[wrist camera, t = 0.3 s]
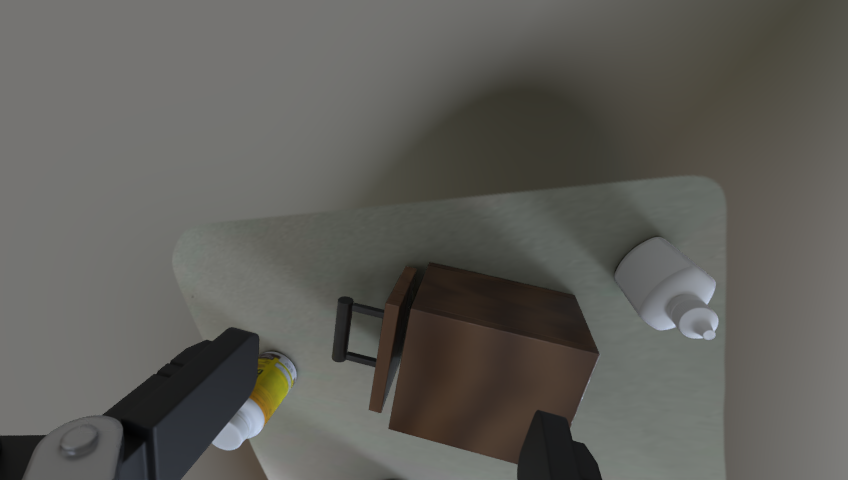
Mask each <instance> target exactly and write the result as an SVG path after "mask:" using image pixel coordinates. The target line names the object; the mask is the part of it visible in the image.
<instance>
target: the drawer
mask: <svg viewBox="0 0 848 480" xmlns="http://www.w3.org/2000/svg"><path fill="white" fill-rule="evenodd" d="M416 271H417V269H416V268H412V267H407V266H405V268H404V270H403V272H402V274H401V276H400V277H399V279H398V281H397V283H396V285H395V287H394V289H393V291H392V292H391V294H390V296H389V298H388V300H387V302H386V304H385V310H382V309H378V308H374V307H370V306H366V305H362V304H358V303H354V304H353V302H354V301H353V299H352V298H350V297H346V296H344V297H340V298H339V299H338V306H337V315H336V324H335V334H334V343H333V352H332V359H333V360H334V361H335V362H343V361H345V360H349V361H353V362H357V363H361V364H365V365H369V366H372V367H375V374H374V380H373V386H372V393H371V399H370V405H369V410H371V411H375V412H378V413H381V412H382V410H383V407H384V404H385V401H386V398H387V396H388V393H389V390H390V387H391V385H392V382H393V379H394V376H395V373H396V371H397V368H398V365H399V362H400V358H401V353H402V347H403V342H404V337H405V331H406V326H407V320H408V315H409V309H410V304H411V299H412V293H413V288H414V282H415V277H416ZM352 311H355V312H359V313H363V314H367V315H371V316H375V317H379V318H383V323H382V329H381V336H380V342H379V348H378V355H377V359H376V358H372V357H368V356H364V355H360V354H356V353H352V352H347V350H348V342H349V334H350V326H351V318H352Z"/></svg>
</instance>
